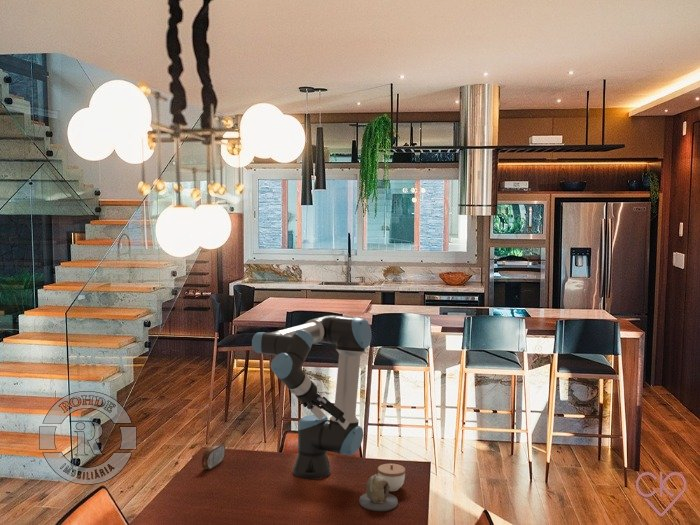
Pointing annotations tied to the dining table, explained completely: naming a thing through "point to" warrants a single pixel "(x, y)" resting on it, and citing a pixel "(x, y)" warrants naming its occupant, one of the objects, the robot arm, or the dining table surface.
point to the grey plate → (386, 506)
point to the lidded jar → (392, 475)
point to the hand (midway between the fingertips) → (334, 421)
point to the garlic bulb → (377, 489)
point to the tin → (213, 456)
